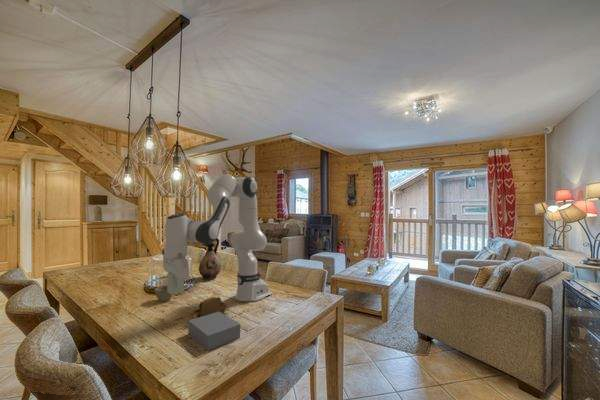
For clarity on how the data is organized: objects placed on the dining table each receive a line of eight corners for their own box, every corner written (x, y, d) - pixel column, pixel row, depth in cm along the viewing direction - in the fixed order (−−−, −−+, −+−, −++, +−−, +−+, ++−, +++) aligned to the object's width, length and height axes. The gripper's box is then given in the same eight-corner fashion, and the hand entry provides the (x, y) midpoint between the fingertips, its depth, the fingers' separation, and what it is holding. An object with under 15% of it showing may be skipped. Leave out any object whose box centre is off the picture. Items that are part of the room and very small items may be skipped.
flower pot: (167, 296, 157) (167, 284, 157) (178, 299, 152) (178, 287, 152) (151, 301, 149) (151, 288, 149) (161, 305, 143) (161, 291, 144)
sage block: (179, 289, 115) (179, 270, 115) (183, 291, 112) (184, 272, 112) (167, 291, 112) (167, 272, 112) (171, 294, 108) (171, 275, 108)
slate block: (218, 324, 122) (219, 311, 122) (240, 338, 109) (240, 324, 109) (188, 334, 112) (188, 320, 112) (207, 351, 99) (208, 335, 99)
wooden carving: (222, 311, 135) (222, 292, 135) (227, 314, 132) (227, 294, 133) (191, 322, 123) (192, 301, 123) (197, 325, 120) (197, 303, 120)
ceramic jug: (203, 282, 185) (204, 239, 185) (195, 277, 196) (196, 237, 197) (226, 278, 196) (226, 237, 197) (217, 274, 208) (217, 235, 208)
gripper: (193, 254, 107) (193, 289, 107) (175, 248, 121) (175, 278, 121) (177, 256, 102) (177, 292, 102) (160, 250, 117) (160, 281, 117)
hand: (175, 284), depth 112 cm, fingers closed on sage block, 5 cm apart
